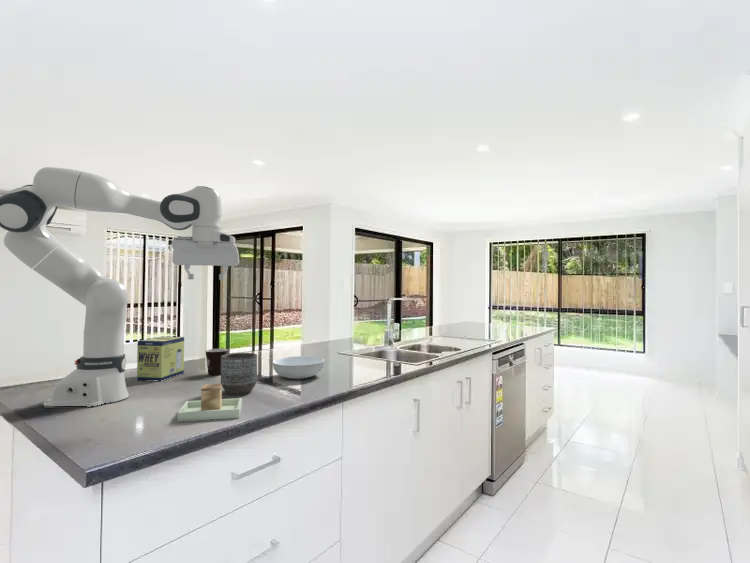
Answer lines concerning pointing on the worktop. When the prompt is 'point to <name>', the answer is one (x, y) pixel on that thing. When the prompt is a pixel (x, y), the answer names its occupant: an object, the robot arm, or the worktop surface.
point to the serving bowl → (298, 366)
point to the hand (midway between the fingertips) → (206, 279)
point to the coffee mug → (214, 361)
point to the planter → (238, 373)
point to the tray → (210, 411)
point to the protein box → (160, 358)
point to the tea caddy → (211, 397)
